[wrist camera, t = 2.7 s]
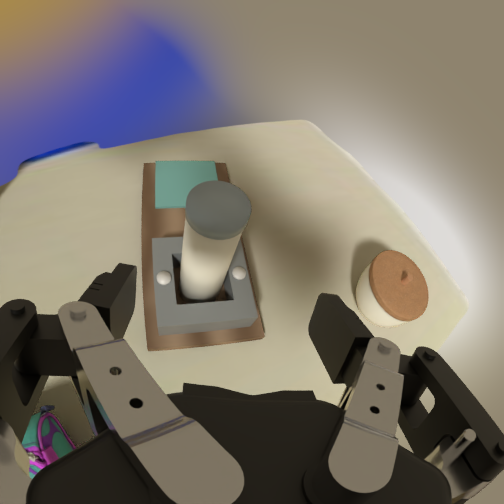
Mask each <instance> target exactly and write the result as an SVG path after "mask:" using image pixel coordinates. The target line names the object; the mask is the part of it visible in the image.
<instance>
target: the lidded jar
mask: <svg viewBox="0 0 504 504" xmlns="http://www.w3.org/2000/svg"><path fill="white" fill-rule="evenodd" d="M356 301H357V306H358V309H359V311H360V313H361V314H362V316H363V317H364V318H365V319H366V320H368V321H369V322H371V323H372V324H374V325H376V326H379V327H383V328H392V327H397V326H400V325H403V324H405V323H407V322H410V321H412V320H414V319H416V318H418V317H420V316H421V315H422V314H423V313H424V311H425V310H426V307H427V304H428V288H427V284H426V281H425V278H424V276H423V274H422V273H421V271H420V269H419V268H418V267H417V265H416V264H415V263H414V262H413V261H412V260H411V259H410V258H408V257H407V256H406V255H404V254H402V253H400V252H398V251H393V250H387V251H383V252H381V253H380V254H378V255H377V256H376V257H375V258H374V259H373V261H372V262H371V263H370V264H369V265H368V266H367V267H366V269H365V270H364V271H363V273H362V274H361V276H360V278H359V280H358V283H357V287H356Z"/></svg>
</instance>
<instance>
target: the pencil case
mask: <svg viewBox="0 0 504 504" xmlns="http://www.w3.org/2000/svg"><path fill="white" fill-rule="evenodd" d="M54 408H55V407H54V406H51V405H45V406H42V407H41V409H40V411H41V412H39V413H37V414H35V415H32V417H31V419H30V422H29V425H28V427H27V430H26V433H25V435H24V438H23V441H22V446H23V447H24V449H25V450H26V452H27V454H28V456H29V460H30V467H29V475H30V478H32V479H33V477H34V476H35V475H36V474H37V473H38V472H39V471H40V470H41V469H43V468H44V467H46V466H47V465H49V464H51V463H52V462H54V461H56V460H57V459H59V458H61V457H63V456H64V455H66V454H68V453H69V452H71V451H73V450H74V449H76V447H75V445H74V444H73V442H72V441H71V439H70V438H69V436H68V435H67V433H66V431H65V430H64V428H63V427H62V425H61V424H60V422H59V421H58V419H57V418H56V417H55V416H54V415H53V414H52V413H50V412H48V411H50V410H53V409H54Z"/></svg>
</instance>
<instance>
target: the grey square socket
mask: <svg viewBox="0 0 504 504" xmlns="http://www.w3.org/2000/svg"><path fill="white" fill-rule="evenodd" d="M182 247H183V237H166V238H152V255H153V275H154V291H155V304H156V316H157V326H158V333H159V336H160V335H173V334H185V333H196V332H207V331H216V330H225V329H234V328H242V327H250V326H251V325H252V324H253V323H254V321H255V320H256V319H257V318H258V314H257V310H256V305H255V301H254V297H253V292H252V288H251V283H250V279H249V275H248V270H247V266H246V261H245V257H244V252H243V248H242V243H241V239H240V240H239V242H238V245H237V247H236V250H235V253H234V255H233V258H232V261H231V263H230V266H229V269H228V271H227V274H226V276H225V279H224V282H223V283H224V289H225V294H226V300H227V301H218V302H206V303H194V304H181V305H177V303H176V293H175V284H174V273H173V268H179V267H181V257H182Z"/></svg>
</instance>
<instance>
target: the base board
mask: <svg viewBox="0 0 504 504" xmlns="http://www.w3.org/2000/svg"><path fill="white" fill-rule="evenodd" d="M215 167H216V173H217V178H218V181H224V182H228V183H230V182H229V177H228V173H227V168H226V164H225V163H215ZM155 170H156V163H144V170H143V190H142V281H143V300H144V315H145V328H146V339H147V348H148V351H159V350H172V349H183V348H194V347H204V346H213V345H221V344H229V343H237V342H244V341H252V340H258V339H262V338H264V337H265V335H264V331H263V327H262V322H261V318H260V314H259V310H258V305H257V301H256V297H255V292H254V288H253V283H252V279H251V275H250V270H249V266H248V262H247V257H246V253H245V248H244V244H243V240H242V235H241V237H240V239H241V243H242V248H243V252H244V257H245V261H246V266H247V270H248V275H249V279H250V283H251V288H252V292H253V297H254V301H255V305H256V310H257V314H258V318H257V319H256V320H255V321H254V323H253V324H252V325H251V326H250V327H242V328H234V329H225V330H216V331H207V332H196V333H185V334H173V335H160V336H159V333H158V326H157V316H156V304H155V291H154V275H153V255H152V238H166V237H183V236H184V227H185V218H186V216H185V208H160V209H155ZM180 269H181V267H179V268H173V273H174V284H175V293H176V303H177V305H181V304H187V303H186V302H184V300H183V299H182V298H181V296H180V292H179V282H180ZM218 301H227V300H226V294H225V289H224V283H223V284H222V287H221V290H220V292H219V295H218V298H217V299H216V301H215V302H218Z"/></svg>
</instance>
